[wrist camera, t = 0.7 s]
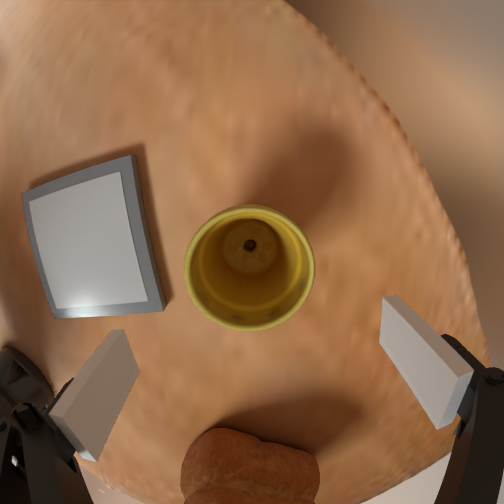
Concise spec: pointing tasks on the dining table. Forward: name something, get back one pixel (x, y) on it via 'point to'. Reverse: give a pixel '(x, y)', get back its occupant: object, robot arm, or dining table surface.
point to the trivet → (94, 242)
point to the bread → (247, 471)
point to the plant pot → (249, 268)
